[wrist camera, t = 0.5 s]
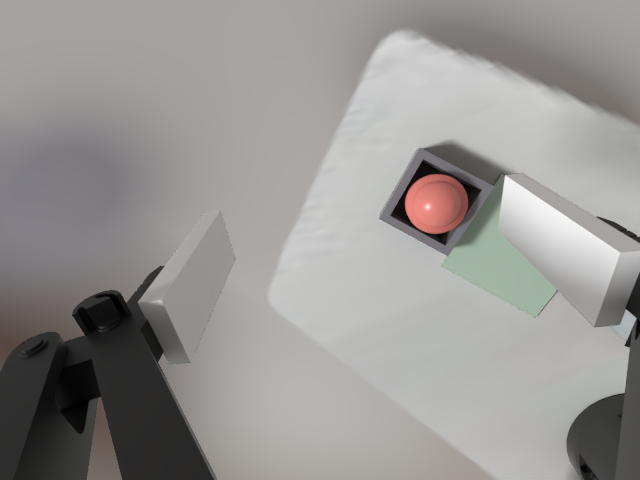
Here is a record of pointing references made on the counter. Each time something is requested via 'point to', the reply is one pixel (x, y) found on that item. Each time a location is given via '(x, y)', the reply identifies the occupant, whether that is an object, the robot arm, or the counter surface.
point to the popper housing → (478, 185)
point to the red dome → (436, 203)
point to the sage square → (498, 260)
